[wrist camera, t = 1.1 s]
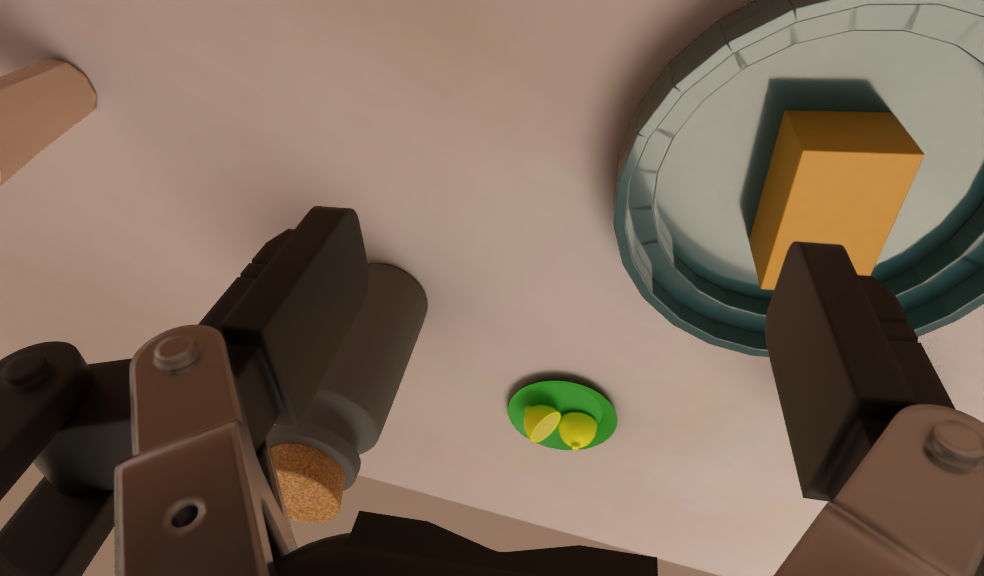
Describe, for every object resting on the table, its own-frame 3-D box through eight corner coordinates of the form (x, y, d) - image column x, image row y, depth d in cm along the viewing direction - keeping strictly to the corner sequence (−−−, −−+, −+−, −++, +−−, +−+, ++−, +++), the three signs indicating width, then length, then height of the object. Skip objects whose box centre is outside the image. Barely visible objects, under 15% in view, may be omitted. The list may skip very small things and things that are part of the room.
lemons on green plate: (506, 433, 48) (501, 464, 46) (512, 366, 43) (505, 397, 40) (608, 450, 47) (606, 482, 45) (626, 383, 42) (625, 416, 40)
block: (784, 109, 28) (802, 150, 25) (893, 112, 27) (925, 154, 24) (748, 242, 33) (760, 289, 30) (840, 247, 32) (861, 296, 29)
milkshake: (131, 135, 35) (-4, 231, 28) (44, 115, 36) (-112, 206, 28) (110, 59, 32) (-47, 144, 25) (16, 38, 33) (-168, 116, 25)
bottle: (446, 303, 40) (372, 511, 29) (394, 340, 43) (309, 540, 32) (377, 247, 38) (269, 448, 26) (328, 290, 41) (213, 486, 30)
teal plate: (634, -29, 25) (635, -10, 23) (1168, -37, 22) (1228, -16, 20) (604, 309, 38) (602, 343, 35) (944, 335, 34) (966, 374, 32)
